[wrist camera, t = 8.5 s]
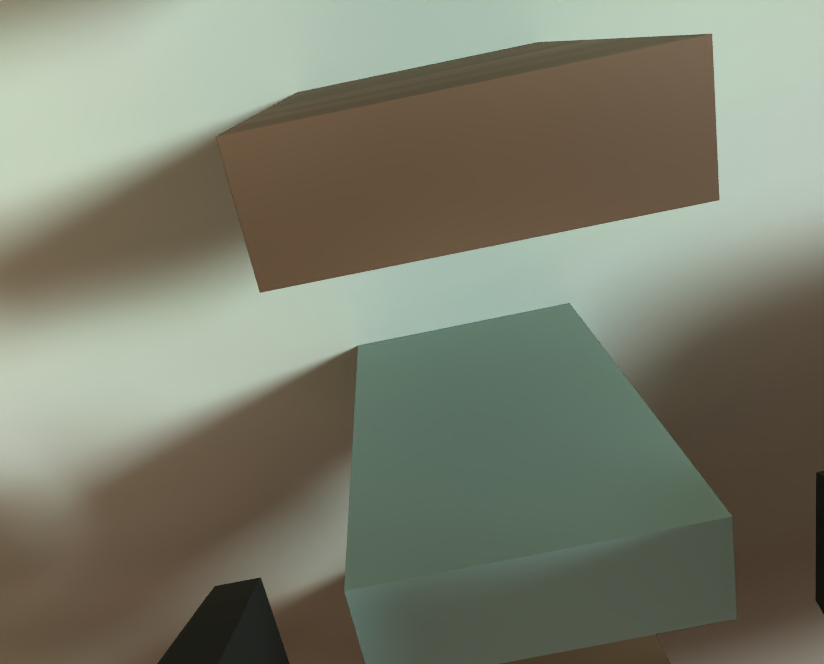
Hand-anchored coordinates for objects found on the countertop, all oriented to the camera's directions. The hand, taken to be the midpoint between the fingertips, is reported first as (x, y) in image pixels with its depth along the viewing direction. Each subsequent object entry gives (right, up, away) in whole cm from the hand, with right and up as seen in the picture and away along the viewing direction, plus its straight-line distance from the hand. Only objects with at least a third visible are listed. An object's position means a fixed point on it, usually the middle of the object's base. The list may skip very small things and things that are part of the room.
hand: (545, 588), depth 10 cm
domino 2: (0, +3, +7) cm, 8 cm away
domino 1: (-1, +8, +5) cm, 9 cm away
